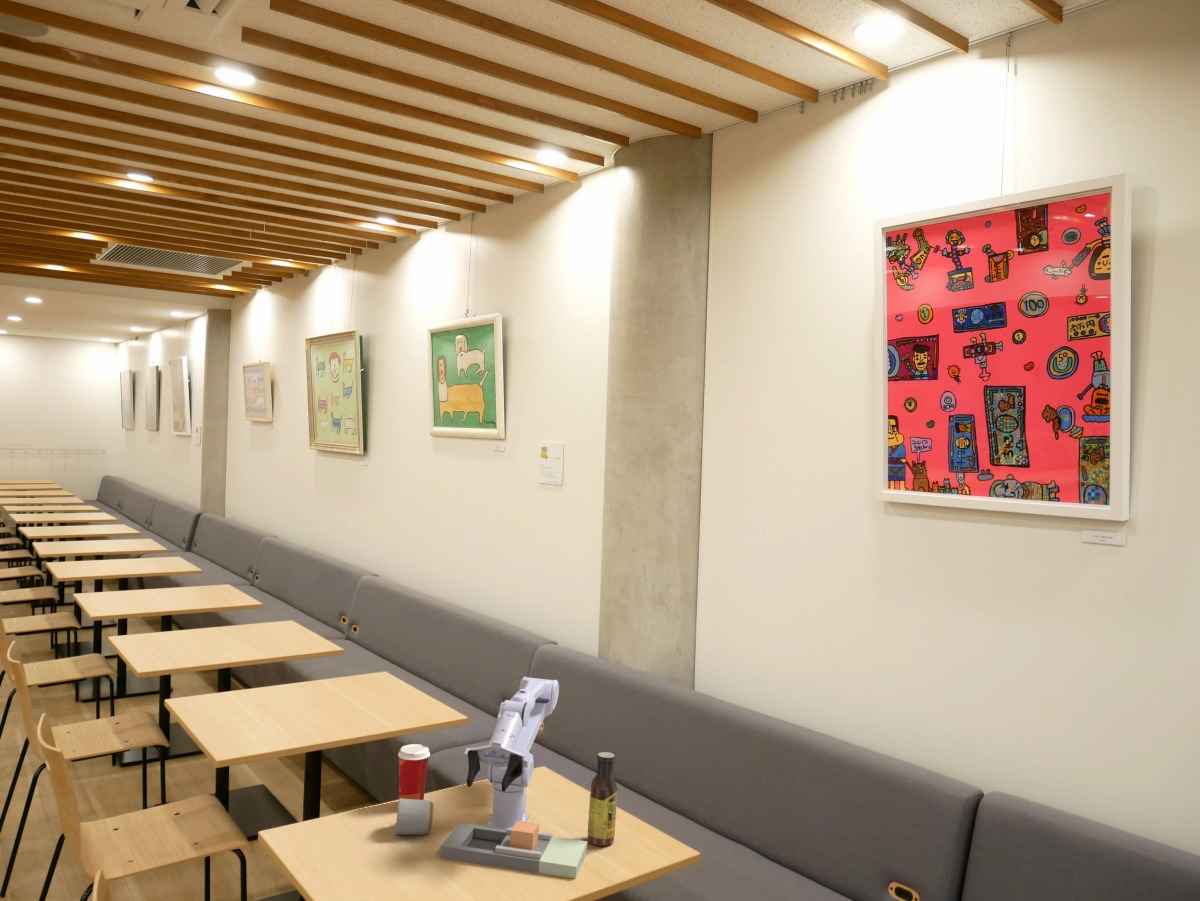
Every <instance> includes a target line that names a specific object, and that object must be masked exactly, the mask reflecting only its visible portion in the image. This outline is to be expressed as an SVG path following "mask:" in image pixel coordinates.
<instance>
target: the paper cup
mask: <svg viewBox="0 0 1200 901" xmlns="http://www.w3.org/2000/svg"><path fill="white" fill-rule="evenodd" d="M429 749H430V748H429V747H428V746H425V745H422V744H418V743H417V744H416V743H413V744H412V743H411V744H406V745H403V746H401V747H400V748H399V752H398V754H397V756H398V757H399V758H398V759H399V760H398V761H399V764H398V765H399V768H398V770H399V772H398V773H399V774H398V777H399V780H398V783H399V784H398V793H399V795H398V800H399V799H400V798H402V799H415V800H425V799H424V798H425V789H426V783H427V774H428V765H429V757H430V756H431V753H430V750H429Z"/></svg>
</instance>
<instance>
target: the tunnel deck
mask: <svg viewBox="0 0 1200 901" xmlns="http://www.w3.org/2000/svg"><path fill="white" fill-rule="evenodd" d="M511 829H512V828H508V829H507V830H505V829H498V828H492V827H486V826H483V825H477V824H471V823H462V822H459V823H457V825H456V826H455V828H454V829H453V830H452V831H451V832H450V834H449V835H448V836H447V837H446V838H445V840H444V841H443V842H442V844H441V845H440V848H439V850H440V851H439V858H440V859H446V860H452V861H457V862H458V861H459V862H465V863H473V864H479V865H486V866H490V867H499V868H503V869H505V868H506V869H511V870H517V871H523V872H531V873H537V874H544V875H551V876H556V877H563V878H569V879H577V877H578V873H579V871H580V869H581V866H582V865H583V862H584V860H585V858H586V856H587V853H588V841H587V840H582V839H581V840H580V839H574V838H567V837H566V838H565V837H558V836H553V834H552V833H549V832H544V831H543V832H542V831H539V832H538V842H537V844H536V846H535V848H534V849H533V851H532V850H526V849H519V848H512V847H510V836H511Z"/></svg>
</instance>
